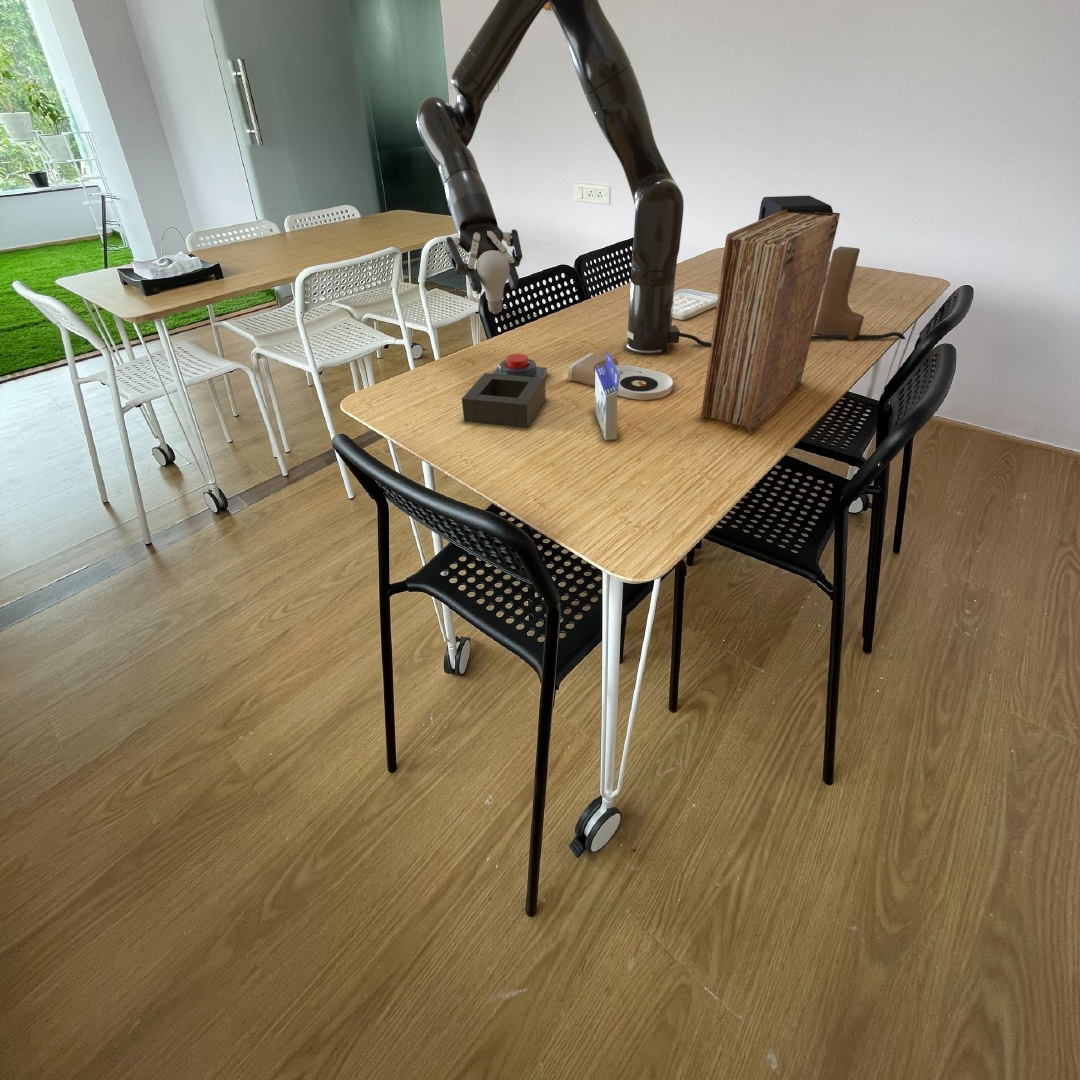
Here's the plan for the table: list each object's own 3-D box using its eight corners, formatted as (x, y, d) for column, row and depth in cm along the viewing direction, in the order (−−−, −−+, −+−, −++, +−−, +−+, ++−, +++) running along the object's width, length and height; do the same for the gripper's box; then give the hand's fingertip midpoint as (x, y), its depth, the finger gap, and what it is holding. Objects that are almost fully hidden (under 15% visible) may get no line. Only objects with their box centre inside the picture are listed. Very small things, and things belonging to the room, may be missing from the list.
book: (749, 433, 105) (787, 241, 87) (699, 420, 109) (725, 234, 91) (800, 383, 121) (841, 212, 103) (755, 373, 125) (786, 208, 107)
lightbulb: (507, 319, 113) (503, 255, 106) (475, 318, 114) (469, 254, 107) (515, 309, 118) (512, 246, 111) (484, 308, 119) (479, 246, 112)
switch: (547, 375, 128) (546, 358, 126) (536, 390, 122) (535, 373, 119) (501, 371, 130) (500, 355, 128) (488, 386, 124) (487, 369, 122)
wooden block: (859, 335, 141) (883, 250, 131) (853, 341, 139) (877, 254, 128) (819, 328, 146) (839, 245, 135) (812, 333, 143) (832, 249, 132)
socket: (545, 400, 118) (545, 377, 115) (527, 428, 109) (526, 404, 106) (486, 395, 121) (484, 372, 118) (464, 421, 111) (461, 398, 109)
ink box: (593, 412, 113) (594, 350, 106) (605, 411, 113) (608, 349, 106) (603, 441, 104) (606, 376, 97) (617, 440, 104) (620, 375, 97)
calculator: (639, 311, 160) (640, 303, 159) (683, 293, 171) (684, 286, 170) (683, 321, 153) (684, 313, 151) (725, 302, 164) (727, 295, 163)
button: (531, 362, 125) (530, 354, 124) (524, 371, 122) (524, 362, 121) (510, 361, 126) (509, 352, 125) (503, 369, 123) (503, 360, 122)
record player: (594, 350, 130) (683, 369, 121) (594, 364, 132) (681, 384, 122) (565, 368, 122) (657, 390, 113) (564, 383, 124) (655, 406, 115)
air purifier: (820, 285, 174) (838, 205, 162) (768, 286, 175) (783, 207, 163) (797, 267, 191) (812, 194, 179) (749, 268, 191) (762, 195, 179)
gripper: (434, 195, 107) (462, 282, 106) (511, 187, 112) (539, 271, 110) (430, 223, 115) (456, 306, 113) (502, 215, 119) (528, 294, 117)
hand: (497, 288), depth 112 cm, fingers closed on lightbulb, 6 cm apart
